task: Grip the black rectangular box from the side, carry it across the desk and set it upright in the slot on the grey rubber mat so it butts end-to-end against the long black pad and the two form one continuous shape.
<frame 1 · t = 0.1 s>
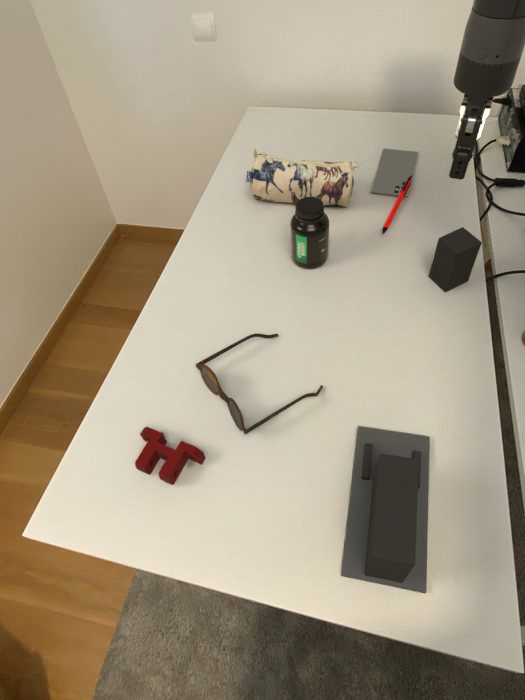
hand: (460, 161, 77), 19 cm above the table, tool pointing down, fingers open, 8 cm apart
pencil case: (302, 200, 105), on the table
eyeglasses: (261, 383, 79), on the table
bracket: (166, 462, 72), on the table
pen: (397, 206, 101), on the table, touching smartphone
black rectangular box: (447, 279, 88), on the table
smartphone: (394, 173, 107), on the table, touching pen
supplement bottle: (309, 258, 94), on the table
pad dock: (390, 468, 69), on the table
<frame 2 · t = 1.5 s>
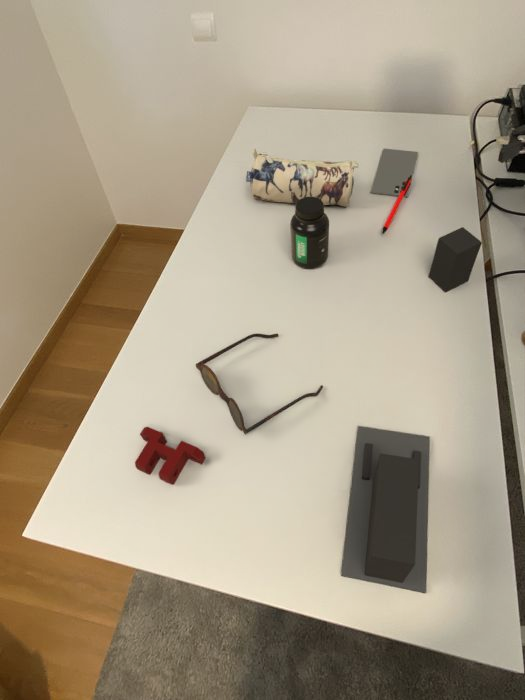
hand: (522, 169, 76), 18 cm above the table, tool horizontal, fingers open, 8 cm apart
pen: (397, 206, 101), on the table, touching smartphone
everything else where it was.
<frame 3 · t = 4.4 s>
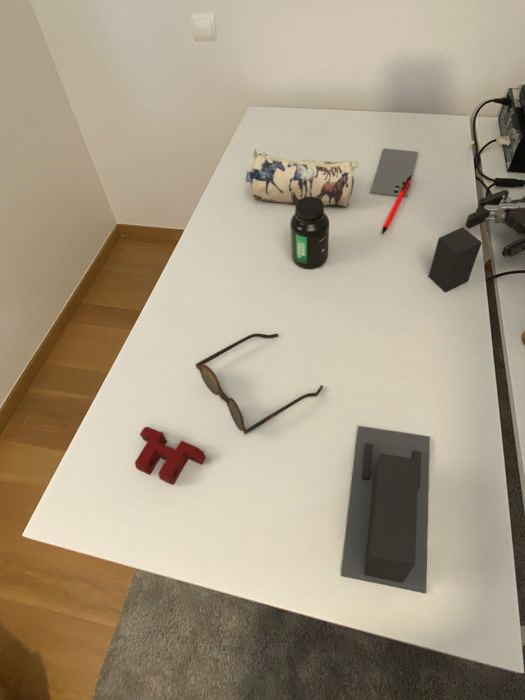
hand: (485, 237, 84), 7 cm above the table, tool horizontal, fingers open, 8 cm apart
nothing on the table moved.
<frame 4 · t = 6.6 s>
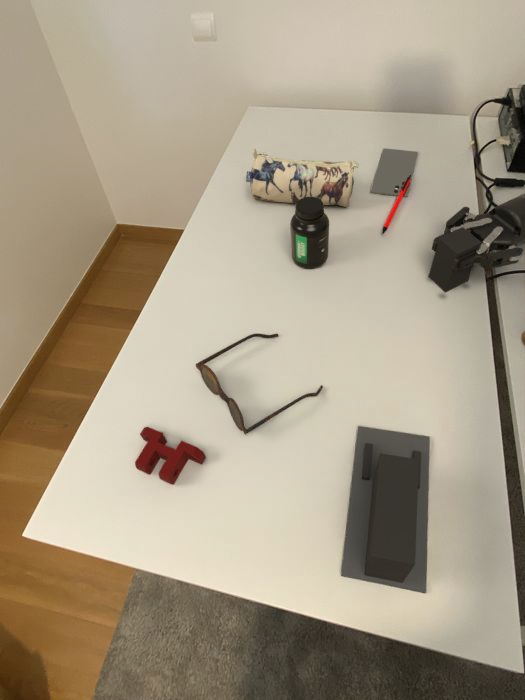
hand: (444, 255, 82), 7 cm above the table, tool horizontal, fingers closed on black rectangular box, 4 cm apart
black rectangular box: (447, 279, 88), on the table, touching gripper
everything else where it was.
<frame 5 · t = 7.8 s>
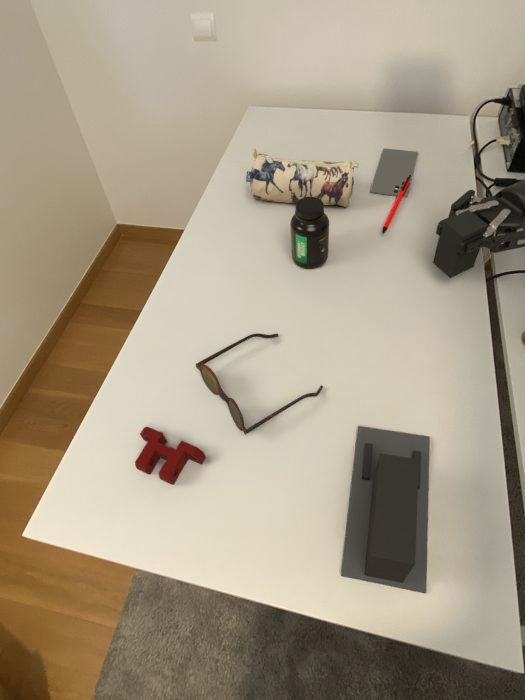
hand: (449, 239, 79), 11 cm above the table, tool horizontal, fingers closed on black rectangular box, 4 cm apart
black rectangular box: (452, 265, 85), point 4 cm above the table, touching gripper
everything else where it was.
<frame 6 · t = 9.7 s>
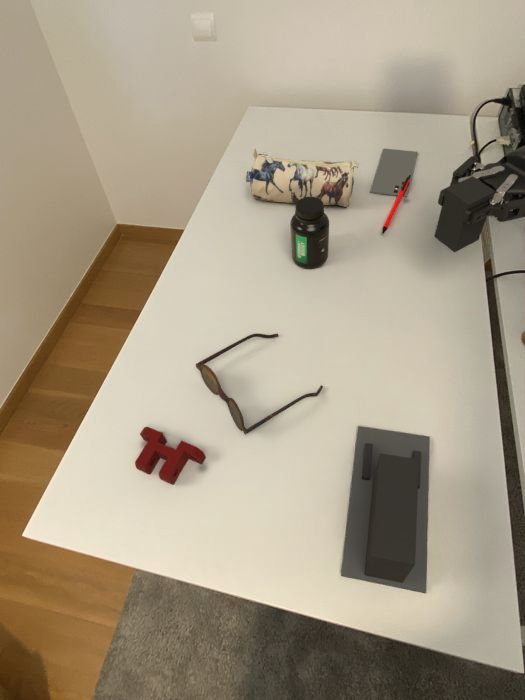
hand: (453, 208, 72), 18 cm above the table, tool horizontal, fingers closed on black rectangular box, 4 cm apart
black rectangular box: (456, 238, 79), point 11 cm above the table, touching gripper
everything else where it was.
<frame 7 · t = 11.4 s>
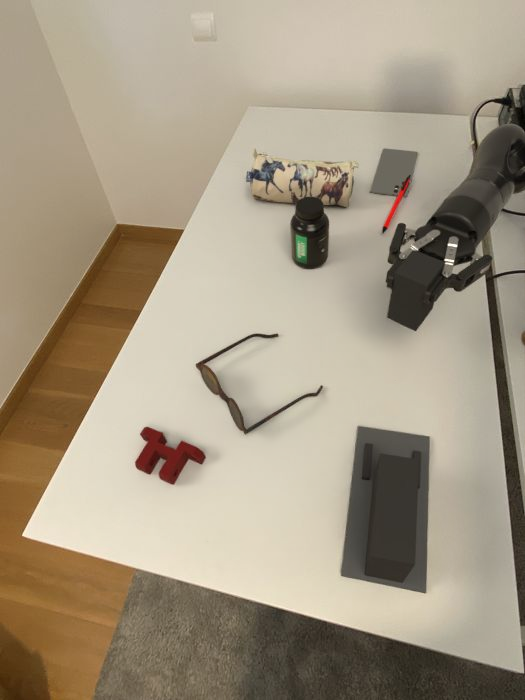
hand: (407, 290, 64), 18 cm above the table, tool horizontal, fingers closed on black rectangular box, 4 cm apart
black rectangular box: (409, 313, 71), point 11 cm above the table, touching gripper
everything else where it was.
when the fingers open (8 cm above the table, at t = 16.9 s): black rectangular box stays where it is, resting on pad dock.
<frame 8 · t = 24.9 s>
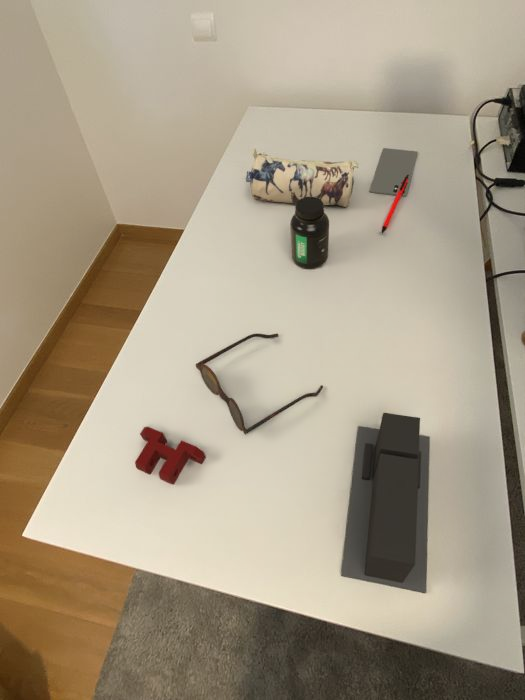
black rectangular box: (391, 462, 68), point 1 cm above the table, touching pad dock
everything else where it was.
at the end: black rectangular box 0.3 cm off-centre on the pad dock, point 0.6 cm above the pad dock's base; black rectangular box tilted 0°; the gripper is holding nothing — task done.
